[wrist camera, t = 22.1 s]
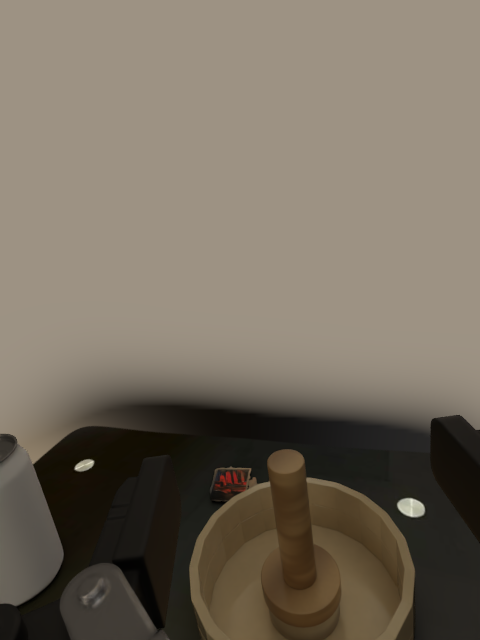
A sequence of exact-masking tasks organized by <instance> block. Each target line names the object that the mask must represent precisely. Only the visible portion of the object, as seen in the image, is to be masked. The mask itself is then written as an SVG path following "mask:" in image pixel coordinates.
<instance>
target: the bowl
mask: <svg viewBox="0 0 480 640" xmlns="http://www.w3.org/2000/svg"><path fill="white" fill-rule="evenodd" d="M306 480H307V489H308V498H309V507H310V516H311V526H312V535H313V544H316V545H318V546H320V547H322V548H323V549H325V550H326V551H327V552H328V553H329V554H330V555H331V556H332V557H333V559H334V560H335V562H336V563H337V565H338V568H339V571H340V579H341V591H342V592H341V600H340V617H339V621H338V624H337V626H336V628H335V629H334V631H333V632H332V633H331V634H330V635H329V636H328V637H327V638H326V639H324V640H415V568H414V565H413V562H412V558H411V555H410V552H409V549H408V545H407V542H406V539H405V538H404V536H403V535H402V533H401V532H400V531H399V529H398V528H397V526H396V525H395V524H394V522H393V521H392V519H391V518H390V517H389V515H388V514H387V513H386V512H385V511H384V510H383V509H381V508H380V507H379V506H378V505H376V504H375V503H374V502H372V501H371V500H370V499H369V498H367V497H366V496H365V495H363V494H361V493H359V492H357V491H354V490H352V489H350V488H348V487H346V486H343V485H341V484H339V483H335V482H330V481H325V480H320V479H315V478H306ZM278 547H279V543H278V536H277V529H276V522H275V515H274V508H273V501H272V494H271V487H270V482H266V483H262V484H258V485H255V486H253V487H251V488H249V489H248V490H246V491H244V492H242V493H240V494H238V495H236V496H234V497H233V498H231V499H230V500H229V501H228V502H227V503H225V504H224V505H223V506H222V507H221V508H220V509H219V510H217V511H216V512H215V513H214V514H213V515H212V516H211V518H210V519H209V521H208V522H207V524H206V526H205V527H204V529H203V530H202V532H201V533H200V535H199V536H198V538H197V541H196V544H195V548H194V551H193V555H192V559H191V562H190V566H189V574H190V588H191V600H192V604H193V608H194V612H195V616H196V620H197V624H198V628H199V632H200V636H201V640H288V639H286V638H285V637H284V636H282V635H281V634H280V633H279V632H278V630H277V629H276V628H275V626H274V625H273V623H272V620H271V618H270V613H269V608H268V607H267V604H266V602H265V599H264V595H263V590H262V584H261V571H262V567H263V564H264V562H265V560H266V558H267V557H268V556H269V554H270V553H271V552H272V551H274V550H275V549H276V548H278Z"/></svg>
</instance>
